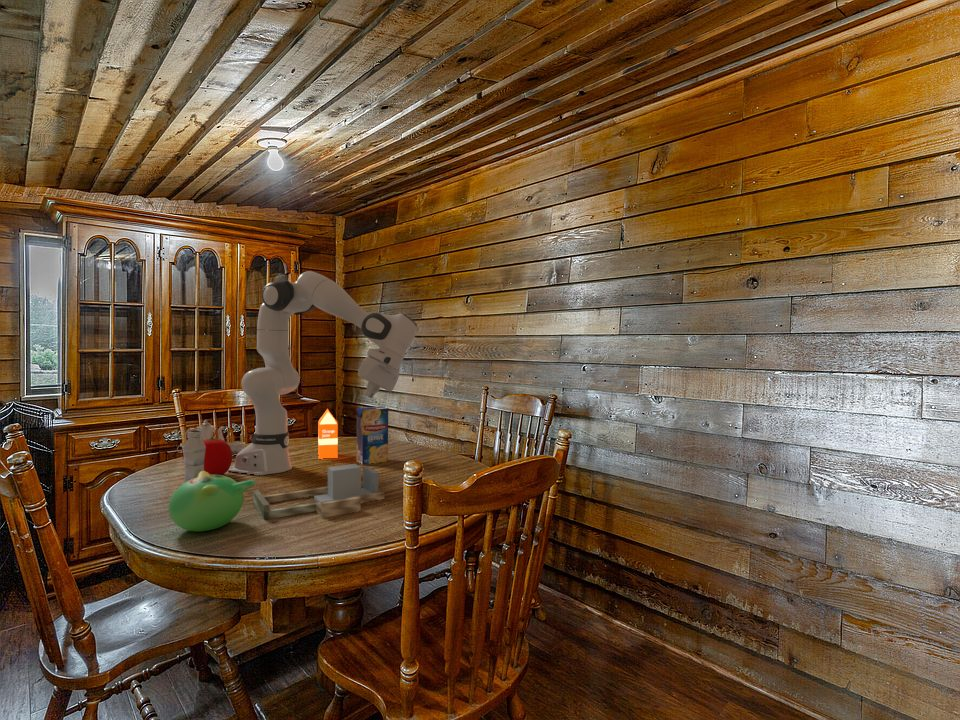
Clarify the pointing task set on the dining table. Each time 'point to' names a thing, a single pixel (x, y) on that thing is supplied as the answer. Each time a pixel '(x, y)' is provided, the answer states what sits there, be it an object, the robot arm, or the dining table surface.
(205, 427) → the chinaware
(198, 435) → the plastic bottle
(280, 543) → the dining table surface
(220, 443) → the tomato
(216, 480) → the toy bird
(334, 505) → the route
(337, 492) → the bookend block
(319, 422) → the orange juice
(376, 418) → the blue food box
